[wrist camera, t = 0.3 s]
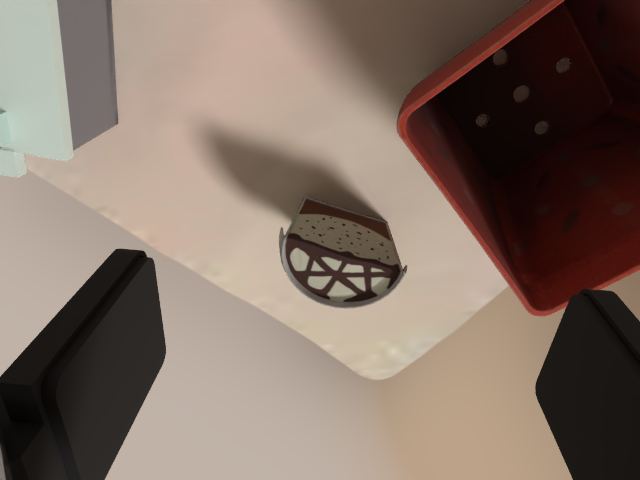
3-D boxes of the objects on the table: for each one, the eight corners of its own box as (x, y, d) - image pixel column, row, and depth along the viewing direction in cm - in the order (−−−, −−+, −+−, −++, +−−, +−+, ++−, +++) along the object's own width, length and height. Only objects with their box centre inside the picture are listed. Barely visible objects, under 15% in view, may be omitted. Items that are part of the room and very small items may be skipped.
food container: (277, 239, 52) (261, 292, 43) (291, 192, 49) (277, 238, 40) (380, 270, 53) (384, 327, 44) (400, 226, 50) (409, 277, 41)
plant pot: (578, -87, 36) (735, -135, 21) (668, 109, 42) (834, 177, 28) (376, 73, 42) (388, 121, 28) (481, 220, 49) (535, 322, 34)
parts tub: (-74, -158, 36) (-192, -196, 28) (104, -124, 36) (35, -152, 29) (-21, 98, 46) (-98, 122, 38) (118, 123, 46) (69, 152, 38)
